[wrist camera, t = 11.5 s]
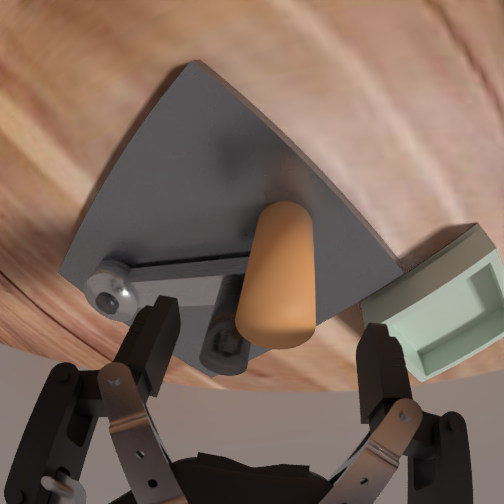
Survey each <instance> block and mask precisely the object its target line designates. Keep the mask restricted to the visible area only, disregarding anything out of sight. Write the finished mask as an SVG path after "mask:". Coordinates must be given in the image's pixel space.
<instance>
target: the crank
mask: <svg viewBox="0 0 504 504" xmlns="http://www.w3.org/2000/svg"><path fill="white" fill-rule="evenodd" d="M248 261H249V257H241V258H231V259H221V260H211V261H201V262H192V263H182V264H172V265H162V266H152V267H142V268H131V267H129V266H128V265H126V264H124V263H122V262H119V261H116V260H104V261H102V262H100V263H99V264H98V266H97V267H96V269H95V270H94V271H93V273H92V274H91V275H90V277H89V278H88V280H87V281H86V283H85V284H84V294H85V297H86V299H87V301H88V302H89V303H90V305H91V306H92V307H93V308H94V309H95V310H96V311H97V312H99V313H100V314H102V315H103V316H105V317H107V318H109V319H111V320H115V321H120V322H125V321H129V320H131V319H132V318H133V317H134V315H135V313H136V311H137V309H138V308H143V307H145V306H146V305H149V306H153V305H154V303H155V301H156V299H157V297H158V296H159V295H163V296H169V297H175V298H177V300H178V305H179V306H200V305H214V308H213V312H212V315H211V318H210V322H209V325H208V328H207V332H206V335H205V339H204V342H203V345H202V349H201V352H200V356H199V360H200V363H201V364H202V365H203V366H204V367H205V368H206V369H208V370H210V371H212V372H214V373H217V374H220V375H227V376H233V375H239V374H241V373H243V372H244V371H245V370H246V369H247V364H248V358H249V352H250V346H251V342H249V341H248V340H246V339H245V338H244V337H243V336H242V335H241V334H240V333H239V331H238V330H237V328H236V324H235V317H236V313H237V309H238V304H239V300H240V296H241V291H242V287H243V283H244V278H245V274H246V270H247V265H248Z"/></svg>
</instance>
